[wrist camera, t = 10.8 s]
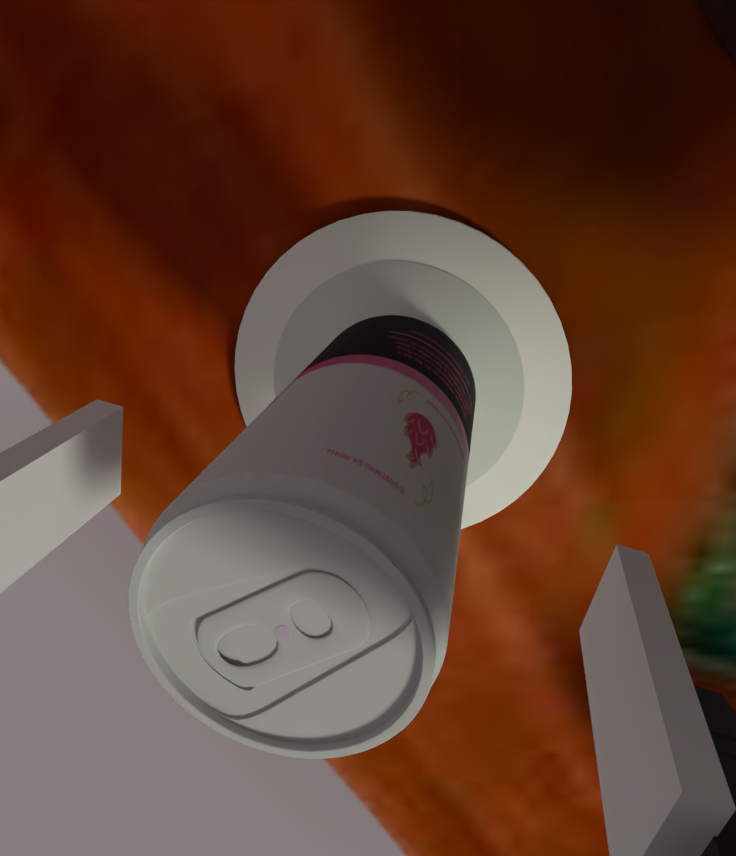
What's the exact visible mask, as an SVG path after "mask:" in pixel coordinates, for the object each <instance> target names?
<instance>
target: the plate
mask: <svg viewBox="0 0 736 856" xmlns="http://www.w3.org/2000/svg"><path fill="white" fill-rule="evenodd" d="M383 315H400V316H407V317H411V318H415V319H418V320H421V321H424V322H426V323H428V324H430V325H432V326H434V327H436V328H437V329H439V330H440V331H442V332H443V333H444V334H446V335H447V336H448V337H449V338H450V339H451V340H452V341H453V342H454V343H455V344H456V345H457V346H458V347H459V349H460V350H461V351H462V353H463V354H464V356H465V358H466V360H467V362H468V364H469V366H470V368H471V371H472V374H473V378H474V382H475V389H476V402H475V412H474V420H473V429H472V437H471V446H470V454H469V463H468V471H467V480H466V488H465V497H464V506H463V514H462V523H461V529H463V528H465V527H468V526H471V525H473V524H476V523H479V522H481V521H483V520H485V519H487V518H489V517H490V516H492V515H494V514H496V513H498V512H500V511H501V510H502V509H504V508H505V507H507V506H508V505H509V504H511V503H512V502H514V501H515V500H516V499H517V498H518V497H519V496H521V495H522V494H523V493H524V492H525V491H526V490H527V489H528V488H529V487H530V486H531V485H532V484H533V483H534V481H535V480H536V479H537V478H538V477H539V475H540V474H541V473H542V472H543V471H544V469H545V467H546V466H547V464H548V462H549V461H550V459H551V458H552V456H553V454H554V453H555V451H556V448H557V446H558V444H559V441H560V439H561V437H562V435H563V432H564V428H565V425H566V421H567V418H568V414H569V409H570V401H571V393H572V367H571V361H570V355H569V348H568V343H567V340H566V337H565V334H564V331H563V327H562V324H561V321H560V319H559V317H558V314H557V312H556V310H555V308H554V306H553V304H552V302H551V300H550V298H549V296H548V295H547V293H546V292H545V290H544V289H543V287H542V286H541V284H540V283H539V281H538V280H537V278H536V277H535V276H534V275H533V274H532V273H531V271H530V270H529V269H528V268H527V267H526V266H525V265H524V264H523V262H522V261H521V260H520V259H519V258H517V257H516V256H515V255H514V254H513V253H512V252H510V251H509V250H508V249H507V248H506V247H504V246H503V245H502V244H501V243H499V242H497V241H496V240H494V239H493V238H491V237H490V236H488V235H486V234H485V233H483V232H482V231H480V230H477V229H475V228H473V227H471V226H469V225H466V224H464V223H462V222H460V221H457V220H453V219H450V218H447V217H443V216H440V215H437V214H431V213H424V212H417V211H395V210H387V211H380V212H372V213H365V214H361V215H357V216H354V217H350V218H347V219H343V220H340V221H337V222H335V223H333V224H330V225H328V226H326V227H323V228H321V229H319V230H317V231H315V232H314V233H312V234H310V235H309V236H307V237H306V238H304V239H302V240H301V241H299V242H298V243H296V244H295V245H294V246H293V247H292V248H290V249H289V250H288V251H287V252H286V253H285V254H283V255H282V256H281V257H280V258H279V259H278V260H277V262H276V263H275V264H274V265H273V266H272V267H271V268H270V269H269V270H268V272H267V273H266V274H265V276H264V277H263V279H262V280H261V282H260V283H259V285H258V286H257V288H256V289H255V291H254V293H253V295H252V297H251V299H250V301H249V303H248V305H247V307H246V309H245V312H244V316H243V319H242V322H241V325H240V328H239V333H238V338H237V344H236V350H235V380H236V391H237V395H238V400H239V405H240V409H241V412H242V415H243V418H244V421H245V424H246V427H247V426H248V425H249V424H250V423H251V422H252V421H253V420H254V419H255V418H256V417H257V416H258V415H259V414H260V413H261V412H262V411H263V410H264V409H265V408H266V407H267V406H268V405H269V404H270V403H271V402H272V401H273V400H274V399H275V398H276V397H277V396H278V395H279V394H280V393H281V392H282V391H283V390H284V389H285V388H286V387H287V386H288V385H289V384H290V383H291V382H292V381H293V380H294V379H295V378H296V377H297V376H298V375H299V374H300V373H301V372H302V371H303V370H304V369H305V368H306V367H307V366H308V365H309V364H310V363H311V362H312V361H313V360H314V359H315V358H316V357H317V356H318V355H319V354H320V353H321V352H322V351H323V350H324V349H325V348H326V347H327V346H328V345H329V344H330V343H331V342H332V341H333V340H334V339H335V338H336V337H337V336H338V335H339V334H340V333H342V332H343V331H344V330H345V329H347V328H348V327H350V326H352V325H354V324H355V323H358V322H360V321H362V320H365V319H368V318H372V317H376V316H383Z"/></svg>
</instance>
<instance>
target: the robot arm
mask: <svg viewBox="0 0 736 856" xmlns="http://www.w3.org/2000/svg"><path fill="white" fill-rule="evenodd" d="M698 2H699V4H700V6H701V8H702V10H703V13H704V15H705V17H706V19H707V20H708V22H709V24H710V26H711V27H712V29H713V31H714V33H715V34H716V35H717V37H718V38H719V40H720V41H721V43H722V44H723V46H724V47H725V48H726V49H727V51H728V52H729V53H730V54H731V55H732V57H733V58H734V59H735V60H736V0H698ZM122 422H123V407H122V406H118V405H115V404H111V403H108V402H104V401H100V400H95V401H93V402H92V403H90V404H88V405H86V406H84V407H83V408H81V409H79V410H77V411H75V412H74V413H72V414H70V415H68V416H66V417H65V418H63V419H61V420H59V421H57V422H56V423H54V424H52V425H50V426H48V427H47V428H45V429H43V430H41V431H39V432H37V433H36V434H34V435H32V436H30V437H28V438H27V439H25V440H23V441H21V442H20V443H18V444H16V445H14V446H12V447H11V448H9V449H7V450H5V451H3V452H1V453H0V593H1V592H2V591H4V590H5V589H6V588H7V587H8V586H10V585H11V584H12V583H13V582H14V581H16V580H17V579H18V578H19V577H20V576H22V575H23V574H24V573H25V572H27V571H28V570H29V569H30V568H31V567H32V566H34V565H35V564H36V563H37V562H39V561H40V560H41V559H42V558H44V557H45V556H46V555H47V554H48V553H49V552H51V551H52V550H53V549H54V548H56V547H57V546H58V545H59V544H61V543H62V542H63V541H64V540H65V539H67V538H68V537H69V536H70V535H71V534H73V533H74V532H75V531H76V530H77V529H79V528H80V527H81V526H82V525H83V524H85V523H86V522H87V521H88V520H89V519H91V518H92V517H93V516H94V515H96V514H97V513H98V512H99V511H100V510H102V509H103V508H104V507H105V506H106V505H108V504H109V503H110V502H111V501H113V500H114V499H115V498H116V497H117V496H119V495H120V494H121V460H122ZM579 633H580V640H581V648H582V655H583V662H584V670H585V677H586V685H587V692H588V699H589V707H590V714H591V721H592V729H593V736H594V743H595V751H596V758H597V766H598V773H599V780H600V788H601V795H602V802H603V810H604V817H605V825H606V832H607V839H608V847H609V854H610V856H736V712H735V711H734V709H733V708H732V707H731V706H730V704H729V703H728V702H727V701H726V699H725V698H724V697H723V696H722V694H720V693H716V692H713V691H710V690H706V689H703V688H700V687H697V686H694V685H693V682H692V679H691V676H690V673H689V670H688V667H687V664H686V661H685V658H684V656H683V653H682V650H681V647H680V644H679V641H678V638H677V635H676V632H675V629H674V626H673V623H672V620H671V618H670V615H669V612H668V609H667V606H666V603H665V600H664V597H663V594H662V591H661V588H660V585H659V583H658V580H657V577H656V574H655V571H654V568H653V565H652V562H651V559H650V556H649V553H645V552H641V551H638V550H634V549H631V548H627V547H623V546H620V545H616V547H615V549H614V552H613V554H612V556H611V558H610V561H609V563H608V565H607V568H606V570H605V572H604V575H603V577H602V579H601V581H600V584H599V586H598V588H597V591H596V593H595V595H594V597H593V600H592V602H591V604H590V607H589V609H588V611H587V614H586V616H585V618H584V620H583V623H582V625H581V627H580V630H579Z"/></svg>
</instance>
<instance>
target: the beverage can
mask: <svg viewBox="0 0 736 856" xmlns="http://www.w3.org/2000/svg"><path fill="white" fill-rule="evenodd" d="M475 402H476V389H475V382H474V378H473V374H472V371H471V368H470V366H469V364H468V362H467V360H466V358H465V356H464V354H463V353H462V351H461V350H460V349H459V347H458V346H457V345H456V344H455V343H454V342H453V341H452V340H451V339H450V338H449V337H448V336H447V335H446V334H444V333H443V332H442V331H440V330H439V329H437V328H436V327H434V326H432V325H430V324H428V323H426V322H424V321H421V320H418V319H415V318H411V317H407V316H400V315H383V316H376V317H372V318H368V319H365V320H362V321H360V322H358V323H355V324H354V325H352V326H350V327H348V328H347V329H345V330H344V331H343V332H342V333H340V334H339V335H338V336H337V337H336V338H335V339H334V340H333V341H332V342H331V343H330V344H329V345H328V346H327V347H326V348H325V349H324V350H323V351H322V352H321V353H320V354H319V355H318V356H317V357H316V358H315V359H314V360H313V361H312V362H311V363H310V364H309V365H308V366H307V367H306V368H305V369H304V370H303V371H302V372H301V373H300V374H299V375H298V376H297V377H296V378H295V379H294V380H293V381H292V382H291V383H290V384H289V385H288V386H287V387H286V388H285V389H284V390H283V391H282V392H281V393H280V394H279V395H278V396H277V397H276V398H275V399H274V400H273V401H272V402H271V403H270V404H269V405H268V406H267V407H266V408H265V409H264V410H263V411H262V412H261V413H260V414H259V415H258V416H257V417H256V418H255V419H254V420H253V421H252V422H251V423H250V424H249V425H248V426H247V427H246V428H245V429H244V430H243V432H242V433H241V434H240V435H239V436H238V437H237V438H236V439H235V440H234V441H233V442H232V443H231V444H230V445H229V446H228V447H227V448H226V449H225V450H224V451H223V452H222V453H221V454H220V455H219V456H218V457H217V458H216V459H215V460H214V461H213V462H212V463H211V464H210V465H209V466H208V467H207V468H206V469H205V470H204V471H203V472H202V473H201V474H200V475H199V476H198V477H197V478H196V479H195V480H194V481H193V482H192V483H191V484H190V485H189V486H188V487H187V488H186V489H185V490H184V491H183V492H182V493H181V494H180V495H179V496H178V497H177V498H176V499H175V500H174V501H173V502H172V503H171V504H170V505H169V506H168V507H167V508H166V509H165V510H164V511H163V513H162V514H161V515H160V516H159V518H158V519H157V520H156V522H155V524H154V525H153V527H152V529H151V530H150V533H149V535H148V537H147V539H146V542H145V545H144V547H143V549H142V551H141V552H140V554H139V556H138V558H137V560H136V562H135V565H134V567H133V571H132V574H131V578H130V583H129V592H128V608H129V617H130V623H131V627H132V630H133V634H134V637H135V640H136V643H137V645H138V647H139V650H140V652H141V654H142V656H143V658H144V660H145V662H146V663H147V665H148V667H149V668H150V670H151V671H152V673H153V674H154V676H155V677H156V678H157V680H158V681H159V682H160V684H161V685H162V686H163V687H164V688H165V690H166V691H167V692H168V693H169V694H170V695H171V696H172V697H173V698H174V699H175V700H176V701H177V702H178V703H179V704H180V705H181V706H182V707H183V708H184V709H186V710H187V711H188V712H189V713H190V714H192V715H193V716H194V717H196V718H197V719H198V720H200V721H201V722H202V723H204V724H206V725H207V726H209V727H210V728H212V729H214V730H215V731H217V732H219V733H221V734H222V735H224V736H226V737H228V738H231V739H233V740H235V741H237V742H239V743H242V744H244V745H247V746H250V747H253V748H255V749H258V750H261V751H265V752H269V753H273V754H278V755H282V756H289V757H296V758H310V759H322V758H335V757H342V756H347V755H352V754H356V753H360V752H363V751H366V750H369V749H371V748H373V747H376V746H378V745H380V744H382V743H384V742H385V741H387V740H389V739H390V738H392V737H393V736H395V735H396V734H397V733H399V732H400V731H401V730H403V729H404V728H405V727H406V726H407V725H408V724H409V723H410V722H411V721H412V719H413V718H414V717H415V716H416V715H417V713H418V712H419V710H420V709H421V707H422V705H423V703H424V702H425V700H426V698H427V695H428V693H429V691H430V687H431V686H432V685H433V683H434V681H435V679H436V677H437V676H438V674H439V671H440V669H441V667H442V664H443V661H444V657H445V654H446V648H447V642H448V634H449V625H450V617H451V608H452V599H453V591H454V582H455V574H456V565H457V557H458V548H459V540H460V531H461V523H462V514H463V506H464V497H465V488H466V480H467V471H468V463H469V454H470V446H471V437H472V429H473V420H474V412H475Z"/></svg>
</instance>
